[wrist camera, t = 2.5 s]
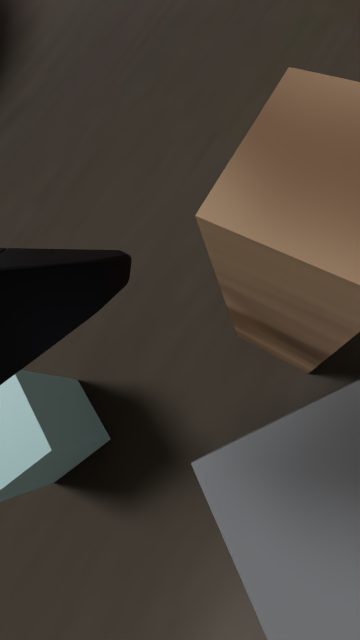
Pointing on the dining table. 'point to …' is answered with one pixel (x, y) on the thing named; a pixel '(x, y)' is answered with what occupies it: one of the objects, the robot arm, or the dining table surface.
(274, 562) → the baseplate
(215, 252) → the walnut block
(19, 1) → the dining table surface
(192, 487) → the dining table surface
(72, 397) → the teal block
